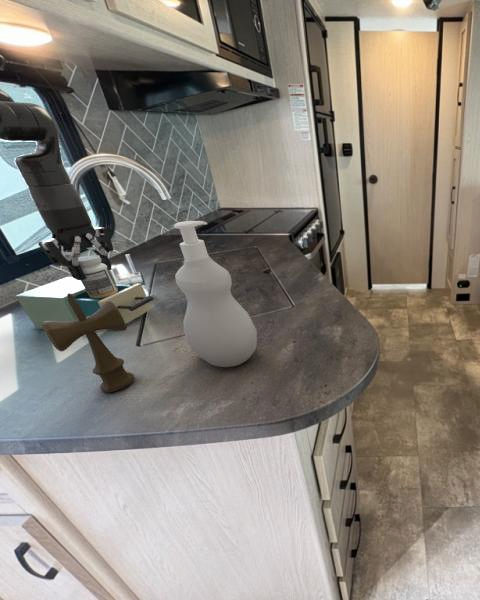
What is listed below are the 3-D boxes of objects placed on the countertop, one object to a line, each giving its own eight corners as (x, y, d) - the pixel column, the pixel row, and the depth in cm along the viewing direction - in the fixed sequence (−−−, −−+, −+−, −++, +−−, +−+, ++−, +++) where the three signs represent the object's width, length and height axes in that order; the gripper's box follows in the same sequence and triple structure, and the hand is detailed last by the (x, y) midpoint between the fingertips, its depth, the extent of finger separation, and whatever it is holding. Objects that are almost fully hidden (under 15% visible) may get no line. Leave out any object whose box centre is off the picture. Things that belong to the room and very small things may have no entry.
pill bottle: (96, 291, 82) (77, 255, 78) (122, 288, 84) (106, 252, 80) (85, 300, 77) (65, 263, 73) (113, 297, 79) (95, 259, 75)
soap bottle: (276, 352, 70) (245, 220, 57) (231, 384, 61) (180, 236, 48) (227, 334, 77) (188, 213, 64) (179, 360, 68) (123, 225, 55)
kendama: (153, 377, 63) (110, 287, 54) (91, 407, 56) (29, 309, 47) (143, 366, 66) (100, 279, 57) (83, 392, 60) (24, 299, 50)
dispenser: (124, 309, 90) (110, 278, 86) (81, 331, 79) (62, 297, 75) (84, 306, 92) (67, 276, 87) (36, 328, 81) (15, 295, 77)
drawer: (166, 309, 87) (156, 284, 84) (132, 330, 78) (119, 302, 74) (113, 306, 89) (100, 281, 86) (72, 326, 80) (57, 299, 76)
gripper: (38, 212, 64) (78, 287, 71) (105, 200, 77) (133, 265, 84) (7, 212, 65) (50, 286, 72) (79, 200, 77) (109, 264, 85)
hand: (94, 274), depth 78 cm, fingers closed on pill bottle, 5 cm apart
